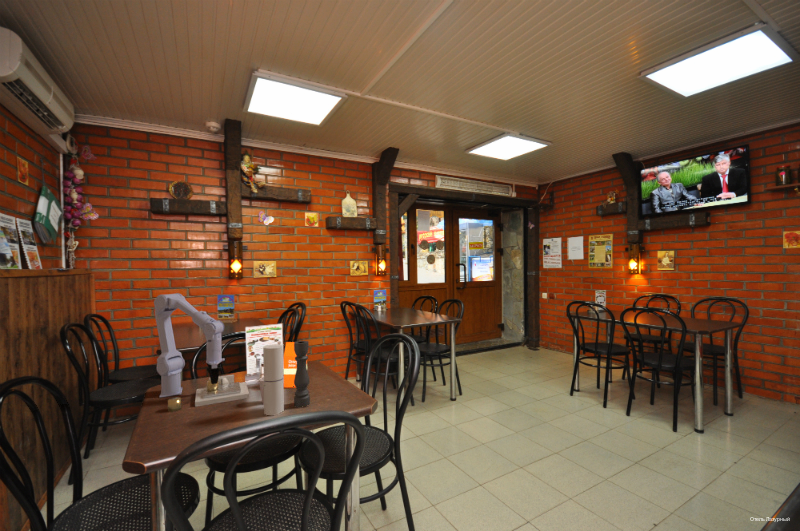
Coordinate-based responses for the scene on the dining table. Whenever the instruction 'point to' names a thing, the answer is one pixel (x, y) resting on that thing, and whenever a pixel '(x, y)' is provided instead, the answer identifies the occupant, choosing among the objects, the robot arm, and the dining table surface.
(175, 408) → the brass weight
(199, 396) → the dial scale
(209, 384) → the brass weight
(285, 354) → the orange juice
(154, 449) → the dining table surface
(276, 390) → the cylindrical container
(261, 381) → the smoothie
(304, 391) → the candle holder
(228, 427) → the dining table surface
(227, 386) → the scale pan
